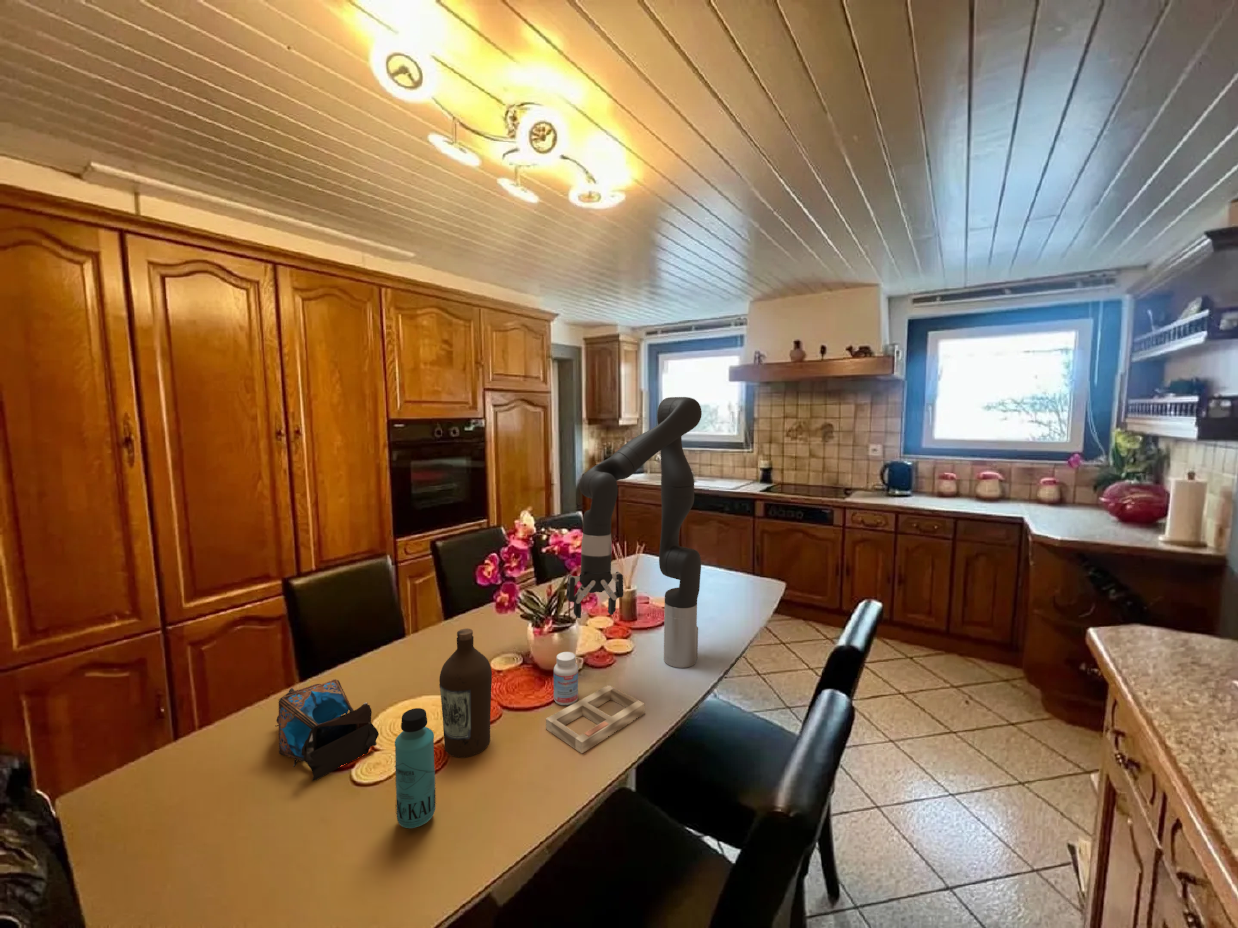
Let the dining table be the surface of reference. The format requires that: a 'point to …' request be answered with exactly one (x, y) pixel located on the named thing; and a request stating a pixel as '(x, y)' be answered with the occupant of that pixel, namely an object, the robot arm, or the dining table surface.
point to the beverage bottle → (415, 770)
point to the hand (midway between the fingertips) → (594, 615)
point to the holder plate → (594, 718)
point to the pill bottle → (565, 679)
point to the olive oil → (466, 698)
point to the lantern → (323, 727)
